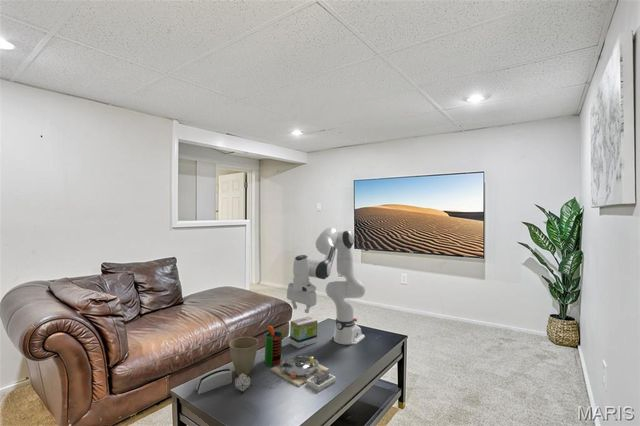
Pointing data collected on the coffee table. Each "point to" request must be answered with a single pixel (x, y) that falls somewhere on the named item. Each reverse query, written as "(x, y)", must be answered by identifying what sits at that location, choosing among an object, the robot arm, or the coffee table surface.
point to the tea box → (303, 332)
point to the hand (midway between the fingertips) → (300, 310)
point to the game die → (242, 382)
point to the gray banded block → (321, 377)
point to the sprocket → (300, 366)
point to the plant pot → (243, 353)
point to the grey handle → (214, 379)
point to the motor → (273, 347)
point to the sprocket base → (297, 380)
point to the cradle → (319, 387)
